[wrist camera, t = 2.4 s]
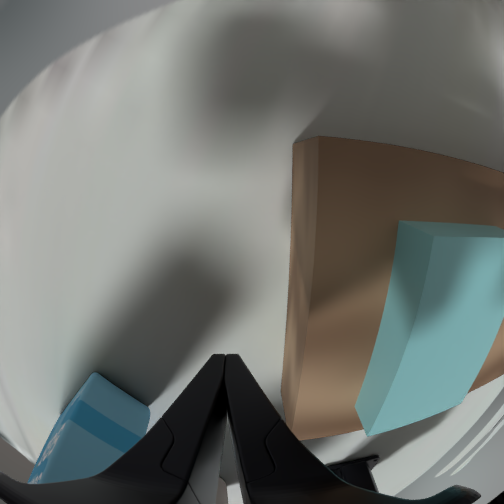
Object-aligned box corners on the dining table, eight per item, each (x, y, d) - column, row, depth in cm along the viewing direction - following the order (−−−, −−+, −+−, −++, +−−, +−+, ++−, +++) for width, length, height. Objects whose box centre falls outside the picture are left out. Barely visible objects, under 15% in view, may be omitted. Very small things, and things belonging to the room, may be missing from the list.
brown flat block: (479, 348, 16) (504, 373, 13) (280, 391, 16) (289, 441, 12) (520, 184, 12) (558, 195, 8) (292, 144, 11) (318, 135, 7)
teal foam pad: (444, 381, 11) (460, 403, 10) (354, 406, 11) (367, 436, 9) (495, 225, 9) (525, 238, 7) (399, 220, 8) (433, 236, 6)
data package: (99, 362, 15) (27, 518, 3) (155, 400, 16) (120, 560, 4) (58, 418, 17) (16, 511, 6) (97, 444, 18) (67, 540, 7)
